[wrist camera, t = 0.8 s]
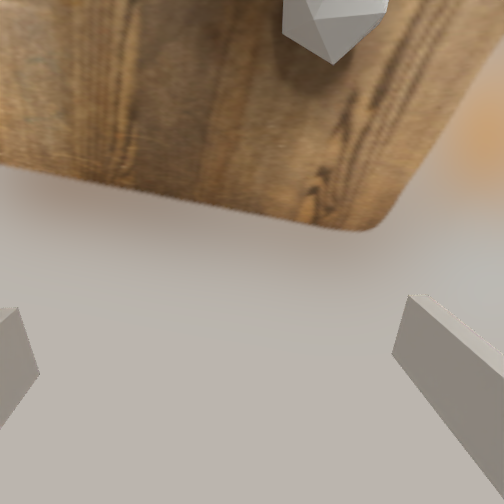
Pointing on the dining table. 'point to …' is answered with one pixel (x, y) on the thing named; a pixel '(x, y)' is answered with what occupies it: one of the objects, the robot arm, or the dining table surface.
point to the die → (331, 24)
